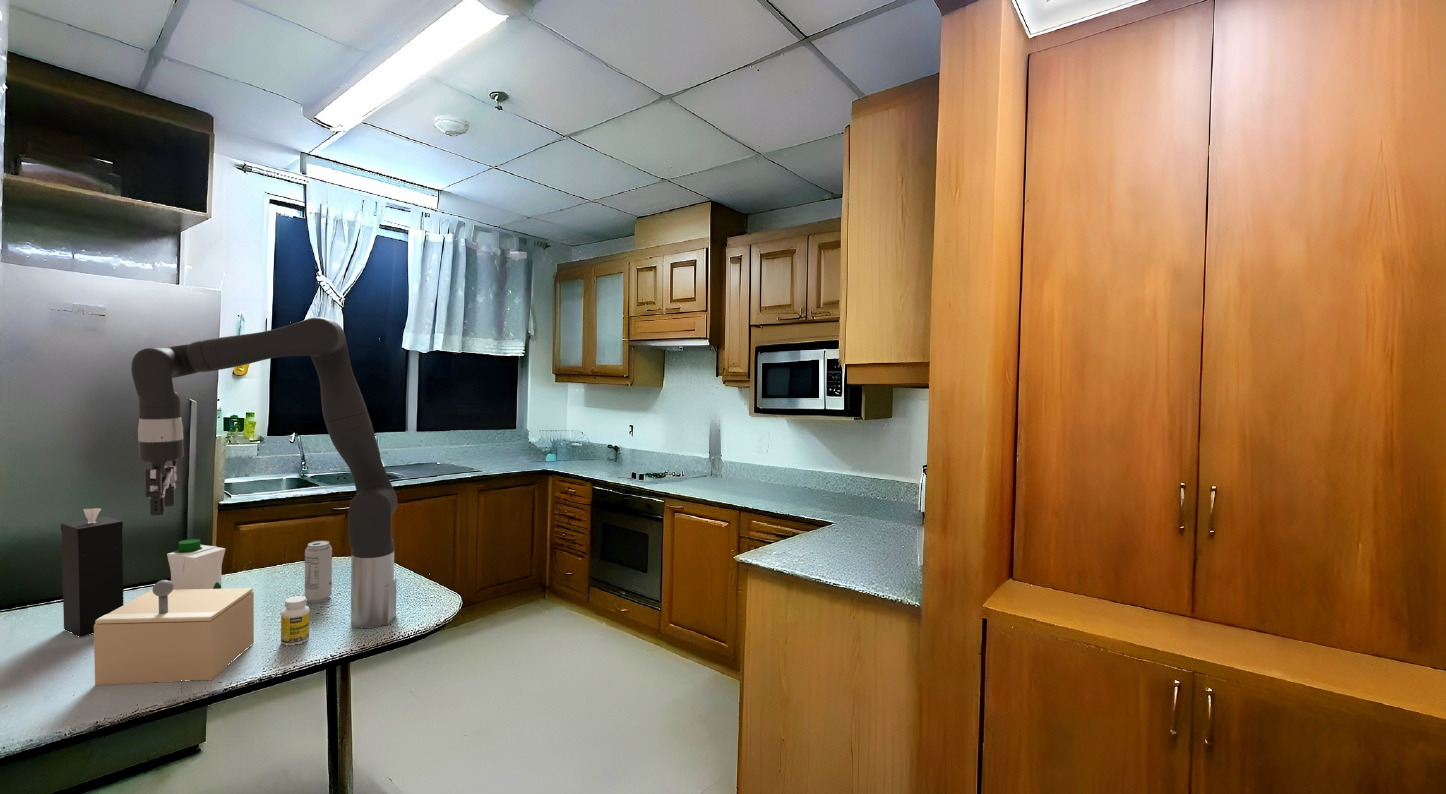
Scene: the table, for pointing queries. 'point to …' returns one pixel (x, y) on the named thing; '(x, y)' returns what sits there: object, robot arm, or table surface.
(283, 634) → the supplement bottle
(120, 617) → the flap
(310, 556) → the energy drink can
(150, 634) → the carton
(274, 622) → the table surface
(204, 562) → the milk carton
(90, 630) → the tall black box
